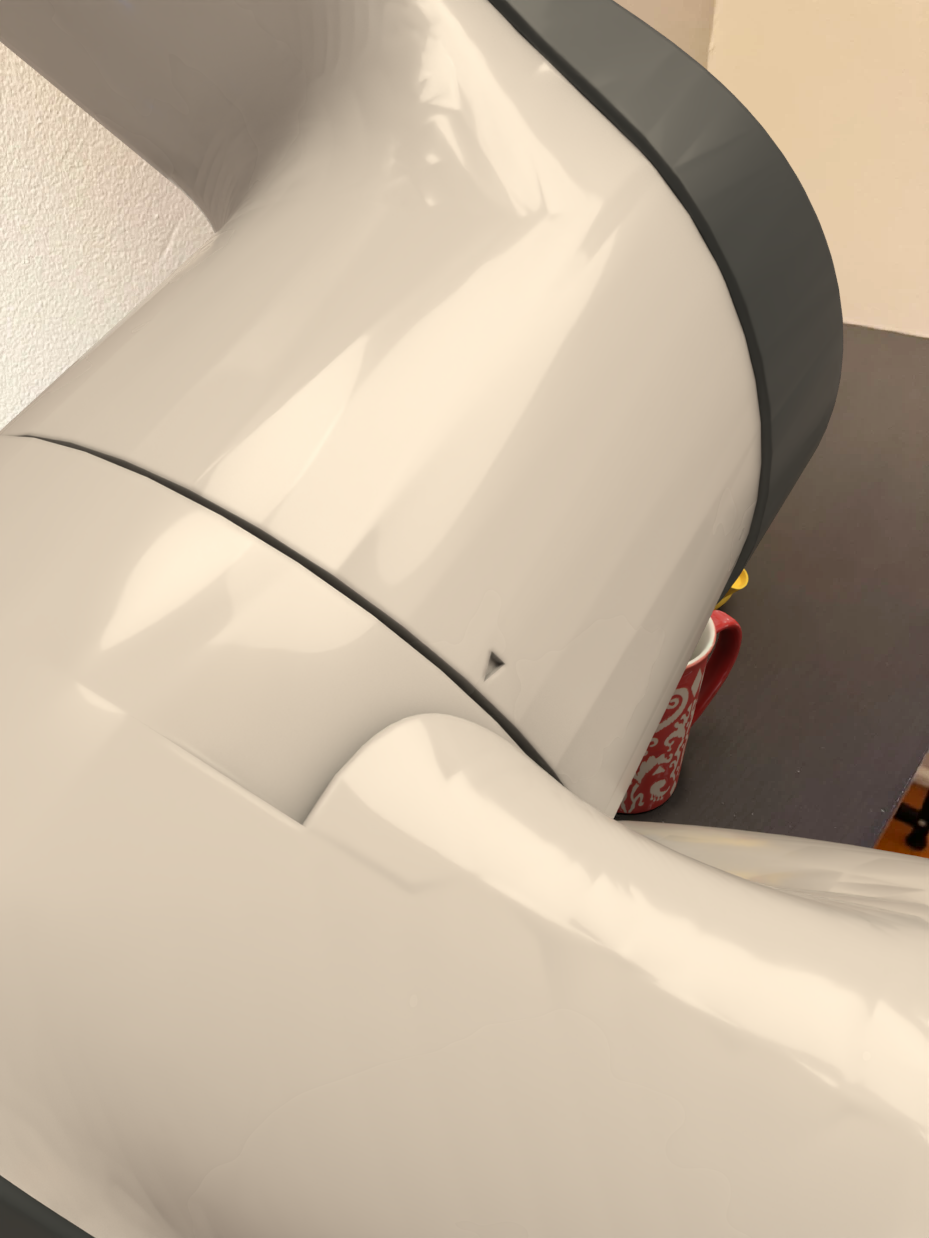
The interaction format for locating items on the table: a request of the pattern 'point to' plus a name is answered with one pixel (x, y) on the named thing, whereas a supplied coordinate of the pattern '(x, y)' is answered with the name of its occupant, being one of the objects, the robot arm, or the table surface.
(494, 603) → the robot arm
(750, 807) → the table surface
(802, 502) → the table surface
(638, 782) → the mug
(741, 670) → the table surface
